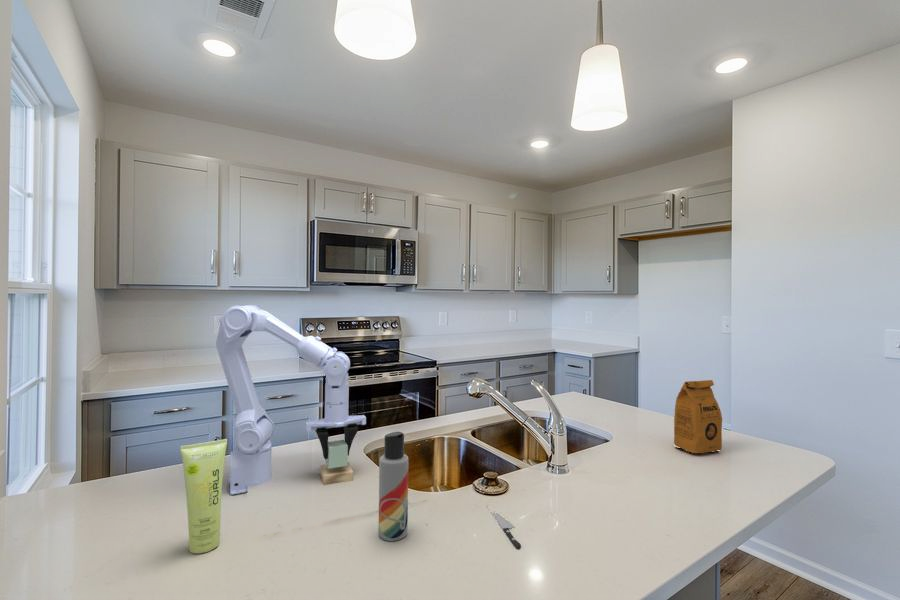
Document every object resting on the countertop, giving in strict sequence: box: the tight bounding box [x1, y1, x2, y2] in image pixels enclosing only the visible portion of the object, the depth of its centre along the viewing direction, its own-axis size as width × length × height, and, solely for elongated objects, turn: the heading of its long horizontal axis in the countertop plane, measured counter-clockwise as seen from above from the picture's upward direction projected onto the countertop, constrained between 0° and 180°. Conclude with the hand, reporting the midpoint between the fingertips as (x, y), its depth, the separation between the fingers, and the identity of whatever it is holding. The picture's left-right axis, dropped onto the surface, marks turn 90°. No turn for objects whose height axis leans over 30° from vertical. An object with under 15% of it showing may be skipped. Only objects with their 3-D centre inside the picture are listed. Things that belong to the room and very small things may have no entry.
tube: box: [179, 438, 228, 554], centre depth 79 cm, size 6×5×20 cm
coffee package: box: [673, 379, 723, 454], centre depth 134 cm, size 10×12×22 cm
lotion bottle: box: [378, 431, 409, 542], centre depth 85 cm, size 6×6×20 cm
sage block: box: [324, 439, 349, 469], centre depth 107 cm, size 4×4×5 cm
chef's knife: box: [490, 511, 522, 550], centre depth 90 cm, size 19×1×3 cm
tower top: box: [319, 461, 354, 486], centre depth 108 cm, size 7×7×2 cm
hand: (336, 456), depth 107 cm, fingers open, 5 cm apart
